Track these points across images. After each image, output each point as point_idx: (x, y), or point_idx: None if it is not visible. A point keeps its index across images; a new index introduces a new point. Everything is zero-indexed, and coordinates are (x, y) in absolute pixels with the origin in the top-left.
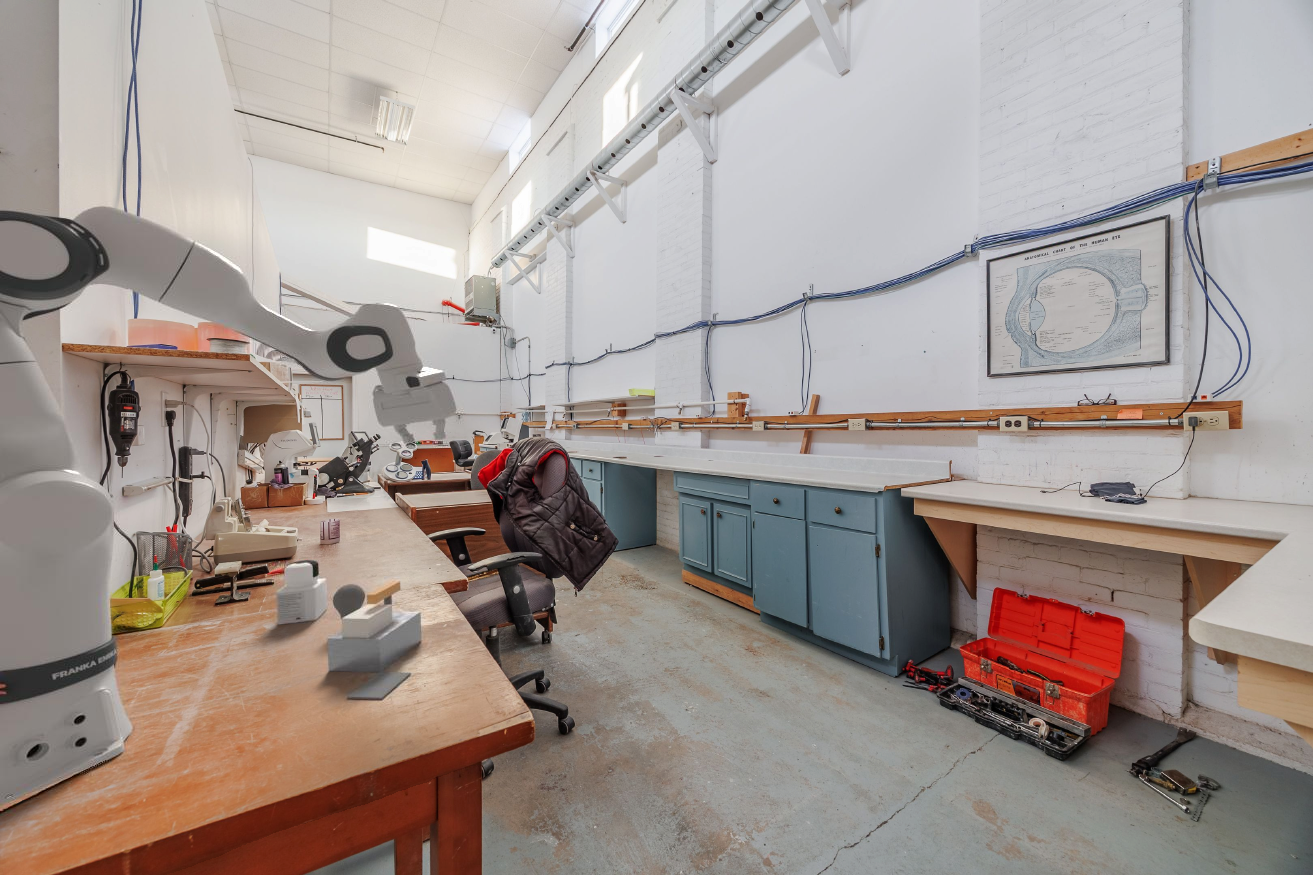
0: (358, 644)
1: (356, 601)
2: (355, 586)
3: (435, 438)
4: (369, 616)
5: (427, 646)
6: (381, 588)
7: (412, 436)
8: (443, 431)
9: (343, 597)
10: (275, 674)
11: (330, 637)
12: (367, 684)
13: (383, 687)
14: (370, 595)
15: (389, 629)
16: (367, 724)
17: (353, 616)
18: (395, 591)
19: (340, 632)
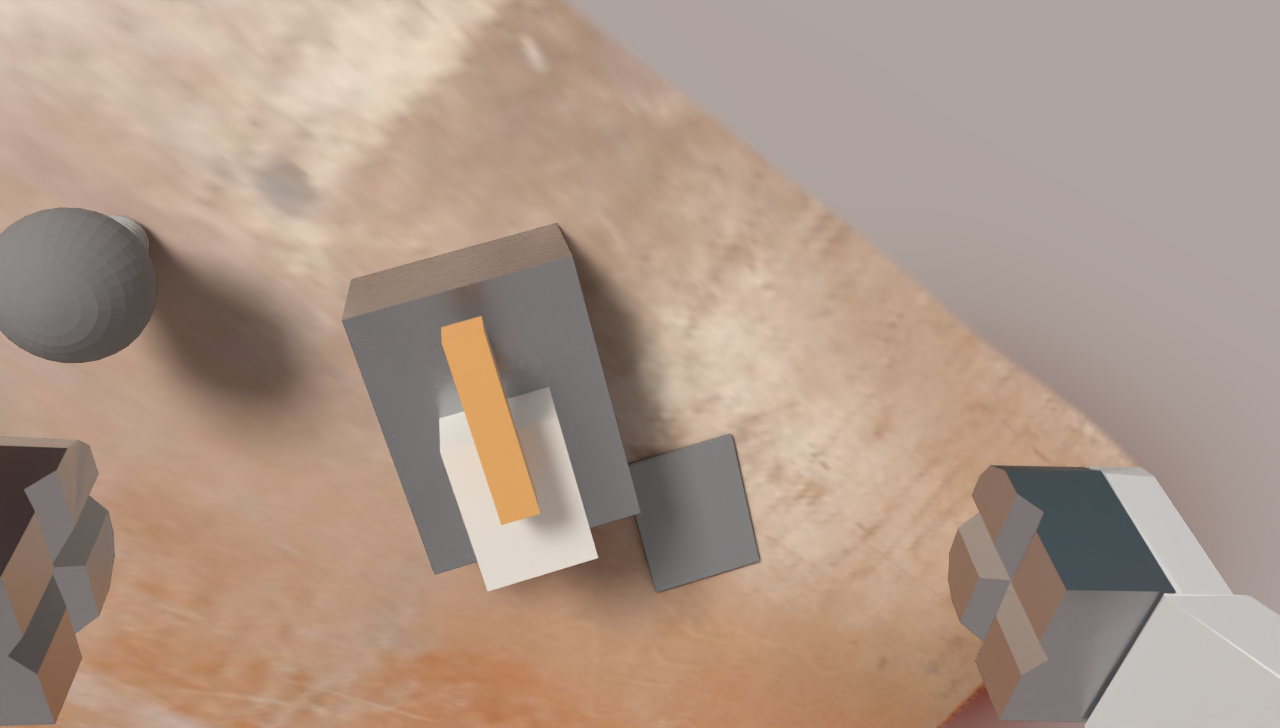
0: None
1: (155, 296)
2: (88, 291)
3: (974, 609)
4: (584, 541)
5: (625, 257)
6: (488, 442)
7: (37, 543)
8: (1204, 585)
9: (112, 352)
10: (274, 588)
11: (438, 566)
12: (655, 530)
13: (719, 525)
14: (519, 518)
15: (600, 441)
16: (812, 638)
17: (516, 562)
18: (493, 356)
19: (428, 524)
